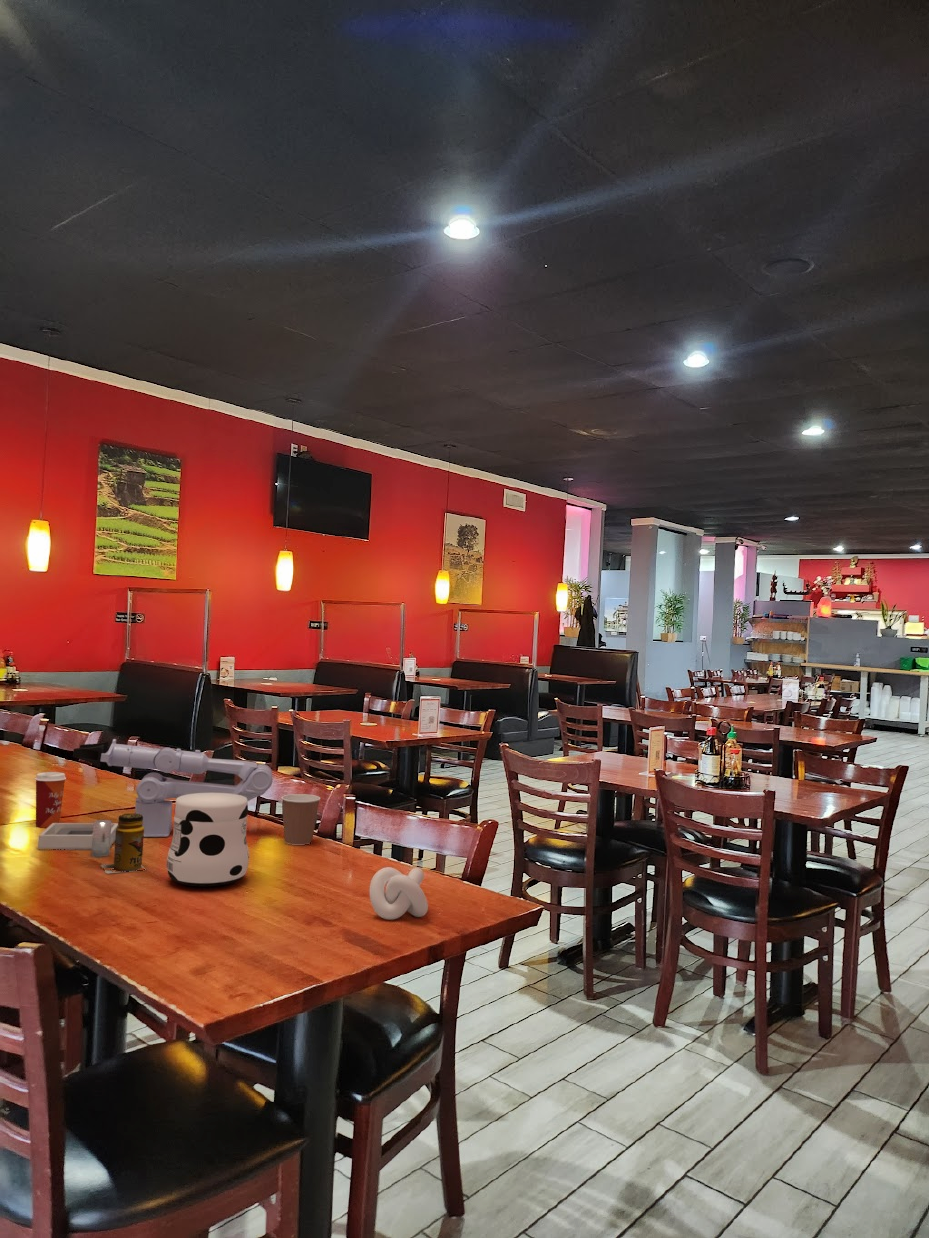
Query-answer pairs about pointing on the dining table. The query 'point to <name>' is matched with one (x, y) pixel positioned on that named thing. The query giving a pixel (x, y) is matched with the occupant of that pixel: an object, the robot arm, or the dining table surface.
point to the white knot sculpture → (397, 893)
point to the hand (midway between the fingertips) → (76, 750)
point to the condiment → (128, 844)
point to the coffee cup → (299, 817)
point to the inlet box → (70, 836)
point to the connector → (101, 838)
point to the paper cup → (49, 798)
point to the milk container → (209, 839)
